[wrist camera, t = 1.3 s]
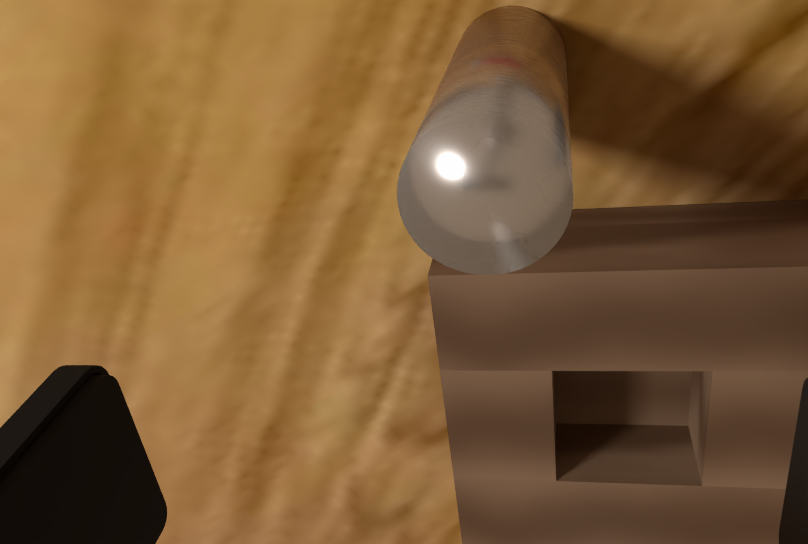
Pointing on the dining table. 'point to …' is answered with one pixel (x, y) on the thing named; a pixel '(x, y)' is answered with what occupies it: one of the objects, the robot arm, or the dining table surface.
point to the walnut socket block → (630, 378)
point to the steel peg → (493, 149)
